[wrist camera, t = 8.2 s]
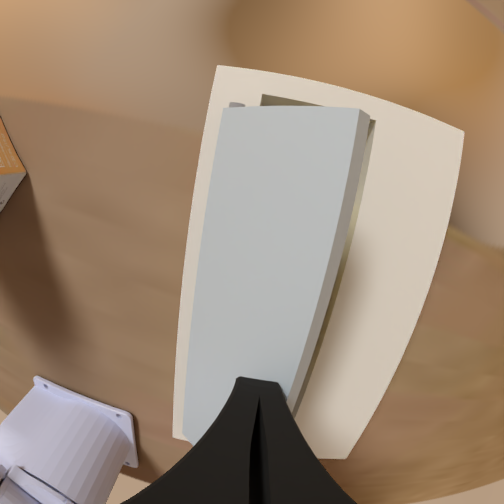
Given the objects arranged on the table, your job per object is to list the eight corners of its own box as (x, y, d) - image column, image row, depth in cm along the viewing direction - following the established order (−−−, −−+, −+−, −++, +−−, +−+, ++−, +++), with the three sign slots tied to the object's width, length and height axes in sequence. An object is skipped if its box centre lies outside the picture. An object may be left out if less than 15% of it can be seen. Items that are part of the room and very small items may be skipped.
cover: (259, 496, 12) (246, 504, 11) (192, 427, 16) (179, 432, 15) (376, 108, 7) (361, 97, 6) (238, 106, 11) (219, 100, 10)
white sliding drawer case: (339, 428, 19) (345, 458, 16) (183, 406, 19) (172, 437, 16) (434, 135, 14) (464, 131, 11) (227, 83, 14) (217, 65, 11)
